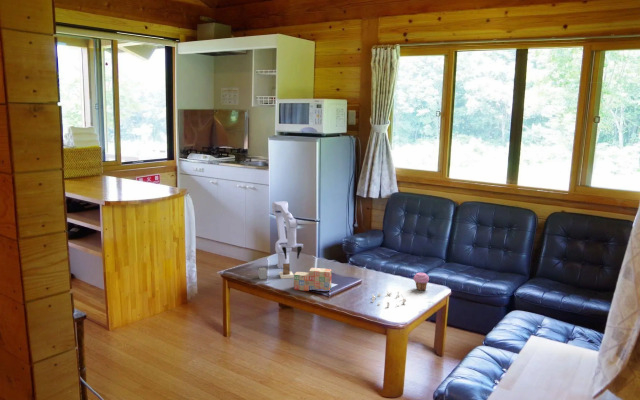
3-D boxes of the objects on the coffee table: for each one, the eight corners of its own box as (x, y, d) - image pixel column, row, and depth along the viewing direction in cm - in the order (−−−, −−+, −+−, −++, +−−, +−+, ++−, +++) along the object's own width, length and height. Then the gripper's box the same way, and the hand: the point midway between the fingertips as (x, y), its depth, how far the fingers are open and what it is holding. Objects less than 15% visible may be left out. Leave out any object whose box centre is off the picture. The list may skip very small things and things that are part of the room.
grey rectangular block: (258, 277, 332) (258, 268, 331) (264, 276, 334) (264, 267, 333) (260, 279, 329) (260, 269, 328) (266, 278, 330) (266, 269, 329)
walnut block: (283, 272, 336) (283, 263, 335) (289, 272, 336) (289, 263, 335) (283, 274, 332) (283, 265, 331) (289, 274, 332) (289, 265, 331)
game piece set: (413, 301, 292) (413, 294, 291) (391, 311, 278) (392, 304, 277) (385, 292, 305) (385, 286, 305) (363, 301, 291) (363, 295, 291)
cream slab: (279, 275, 338) (279, 271, 337) (291, 274, 339) (291, 271, 339) (281, 279, 330) (280, 275, 329) (293, 278, 331) (293, 274, 331)
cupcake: (416, 292, 306) (417, 275, 304) (410, 287, 314) (411, 271, 313) (431, 291, 308) (431, 274, 306) (424, 286, 316) (425, 270, 314)
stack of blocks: (293, 289, 309) (293, 269, 307) (296, 286, 315) (296, 266, 313) (329, 292, 305) (329, 272, 303) (331, 289, 311) (331, 268, 309)
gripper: (280, 239, 331) (280, 260, 333) (303, 239, 333) (303, 259, 335) (280, 237, 338) (280, 257, 340) (302, 236, 340) (302, 256, 342)
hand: (291, 258), depth 338 cm, fingers open, 7 cm apart
